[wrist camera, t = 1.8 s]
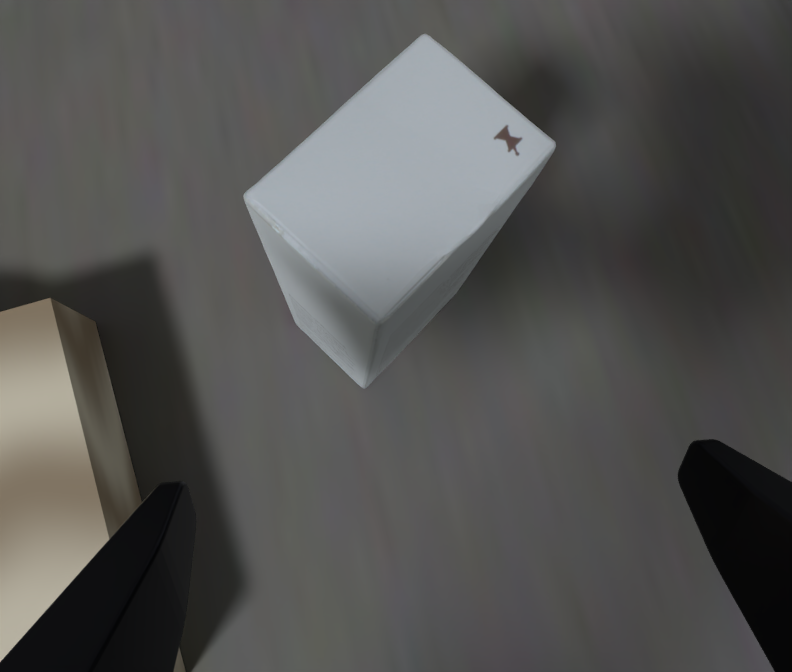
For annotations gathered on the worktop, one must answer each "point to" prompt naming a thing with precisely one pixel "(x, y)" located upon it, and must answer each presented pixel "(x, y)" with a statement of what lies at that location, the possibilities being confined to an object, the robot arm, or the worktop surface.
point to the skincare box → (394, 204)
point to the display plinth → (55, 460)
